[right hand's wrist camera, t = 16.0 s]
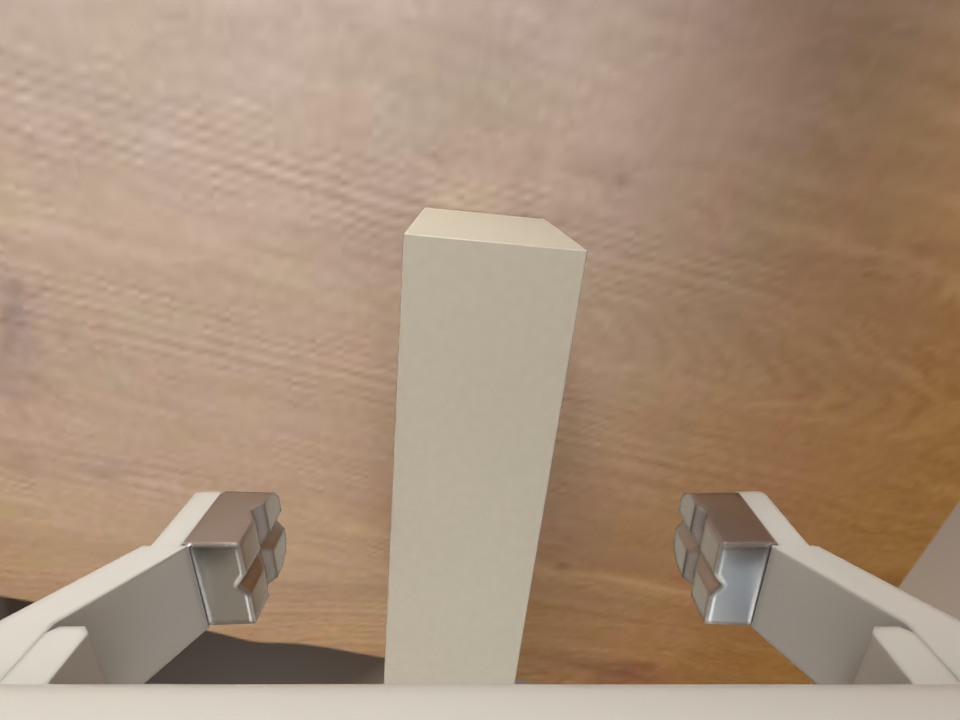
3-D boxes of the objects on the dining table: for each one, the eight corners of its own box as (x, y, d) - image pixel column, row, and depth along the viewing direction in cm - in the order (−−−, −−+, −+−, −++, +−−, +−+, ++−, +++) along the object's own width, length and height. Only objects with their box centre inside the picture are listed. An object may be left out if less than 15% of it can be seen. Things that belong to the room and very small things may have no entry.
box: (424, 207, 27) (403, 233, 18) (545, 218, 27) (587, 250, 18) (401, 601, 37) (380, 755, 27) (492, 605, 37) (502, 758, 28)
